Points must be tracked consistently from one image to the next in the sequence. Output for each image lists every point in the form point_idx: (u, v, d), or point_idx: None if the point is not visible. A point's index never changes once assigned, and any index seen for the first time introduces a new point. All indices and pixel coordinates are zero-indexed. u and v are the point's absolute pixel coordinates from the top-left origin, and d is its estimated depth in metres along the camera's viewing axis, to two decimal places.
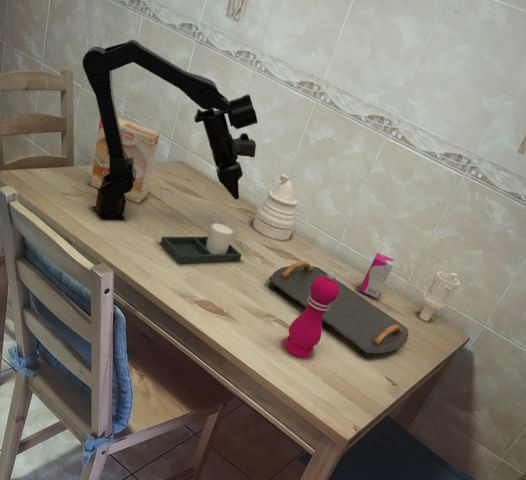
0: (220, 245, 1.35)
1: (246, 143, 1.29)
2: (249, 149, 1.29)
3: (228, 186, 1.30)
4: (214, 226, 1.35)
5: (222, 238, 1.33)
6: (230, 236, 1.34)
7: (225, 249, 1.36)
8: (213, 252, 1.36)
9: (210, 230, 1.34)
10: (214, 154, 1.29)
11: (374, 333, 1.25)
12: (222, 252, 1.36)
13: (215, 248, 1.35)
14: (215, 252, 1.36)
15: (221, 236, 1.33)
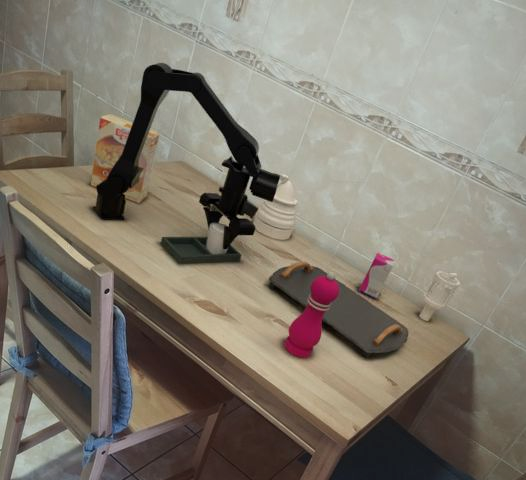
0: (220, 245, 1.35)
1: (252, 204, 1.34)
2: (253, 211, 1.34)
3: (228, 236, 1.31)
4: (214, 226, 1.35)
5: (222, 238, 1.33)
6: None
7: (225, 249, 1.36)
8: (213, 252, 1.36)
9: (210, 230, 1.34)
10: (226, 204, 1.29)
11: (374, 332, 1.25)
12: (222, 252, 1.36)
13: (215, 248, 1.35)
14: (215, 252, 1.36)
15: (221, 236, 1.33)
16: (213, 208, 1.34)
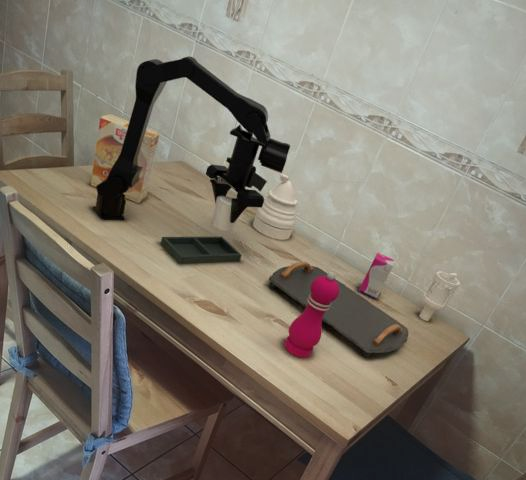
0: (227, 218, 1.31)
1: (260, 176, 1.30)
2: (262, 183, 1.30)
3: (236, 209, 1.28)
4: (221, 199, 1.31)
5: (229, 211, 1.29)
6: None
7: (232, 223, 1.33)
8: (220, 226, 1.32)
9: (217, 203, 1.30)
10: (234, 175, 1.25)
11: (374, 332, 1.25)
12: (229, 226, 1.32)
13: (222, 222, 1.31)
14: (222, 226, 1.32)
15: (229, 208, 1.29)
16: (220, 180, 1.30)
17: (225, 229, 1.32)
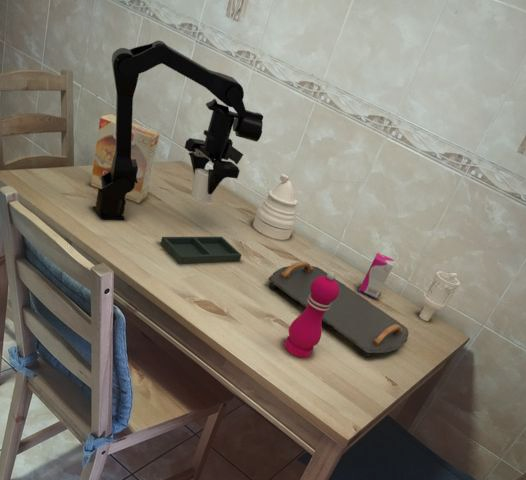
0: (205, 190, 1.36)
1: (237, 150, 1.36)
2: (238, 156, 1.36)
3: (213, 180, 1.33)
4: (199, 171, 1.36)
5: (207, 182, 1.35)
6: None
7: (210, 194, 1.38)
8: (198, 197, 1.37)
9: (195, 174, 1.35)
10: (210, 147, 1.30)
11: (374, 332, 1.25)
12: (207, 197, 1.38)
13: (200, 193, 1.37)
14: (200, 197, 1.37)
15: (206, 180, 1.34)
16: (198, 153, 1.36)
17: (203, 200, 1.38)
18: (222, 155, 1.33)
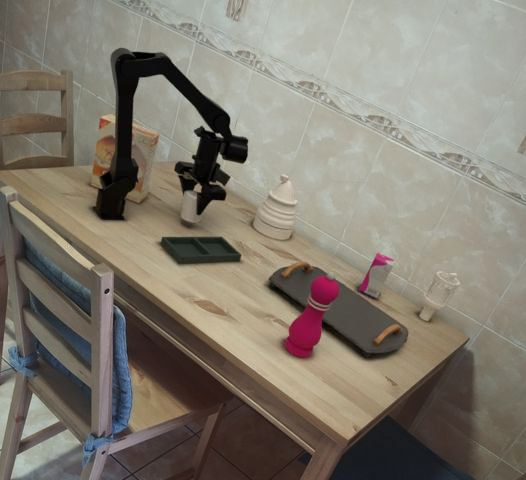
0: (194, 211, 1.41)
1: (224, 172, 1.41)
2: (225, 179, 1.41)
3: (201, 202, 1.38)
4: (188, 193, 1.41)
5: (196, 204, 1.40)
6: None
7: (199, 215, 1.43)
8: (187, 218, 1.43)
9: (184, 196, 1.41)
10: (198, 171, 1.35)
11: (374, 332, 1.25)
12: (196, 218, 1.43)
13: (189, 214, 1.42)
14: (189, 218, 1.43)
15: (195, 202, 1.40)
16: (187, 176, 1.41)
17: (192, 220, 1.43)
18: (210, 178, 1.38)
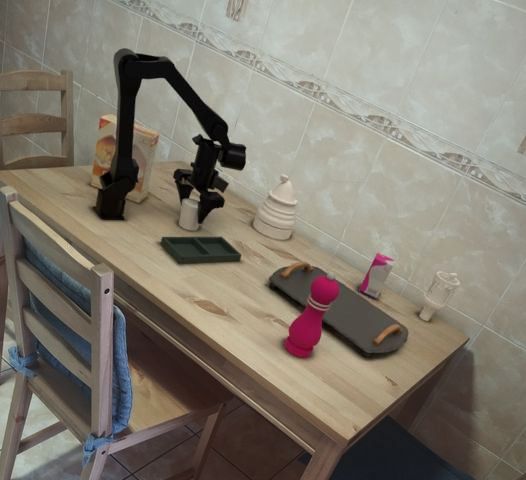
0: (192, 219, 1.43)
1: (222, 179, 1.42)
2: (224, 185, 1.43)
3: (202, 211, 1.39)
4: (186, 201, 1.43)
5: (193, 212, 1.41)
6: None
7: (197, 223, 1.45)
8: (185, 226, 1.44)
9: (182, 205, 1.42)
10: (197, 178, 1.37)
11: (374, 332, 1.25)
12: (194, 226, 1.45)
13: (187, 222, 1.43)
14: (187, 226, 1.44)
15: (193, 210, 1.41)
16: (184, 181, 1.43)
17: (190, 228, 1.45)
18: (208, 185, 1.39)
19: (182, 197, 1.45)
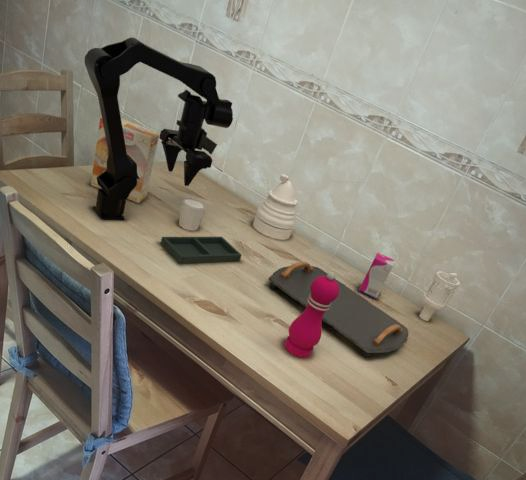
0: (192, 219, 1.43)
1: (210, 140, 1.37)
2: (212, 146, 1.38)
3: (189, 171, 1.34)
4: (186, 201, 1.43)
5: (193, 212, 1.41)
6: (201, 210, 1.42)
7: (197, 223, 1.45)
8: (185, 226, 1.44)
9: (182, 205, 1.42)
10: (183, 137, 1.32)
11: (374, 332, 1.25)
12: (194, 226, 1.45)
13: (187, 222, 1.43)
14: (187, 226, 1.44)
15: (193, 210, 1.41)
16: (170, 142, 1.38)
17: (190, 228, 1.45)
18: (195, 145, 1.34)
19: (169, 159, 1.40)
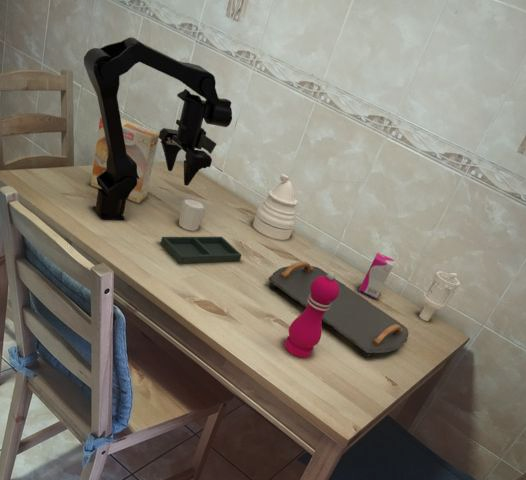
0: (192, 219, 1.43)
1: (210, 139, 1.37)
2: (211, 145, 1.38)
3: (188, 171, 1.34)
4: (186, 201, 1.43)
5: (193, 212, 1.41)
6: (201, 210, 1.42)
7: (197, 223, 1.45)
8: (185, 226, 1.44)
9: (182, 205, 1.42)
10: (182, 136, 1.32)
11: (374, 332, 1.25)
12: (194, 226, 1.45)
13: (187, 222, 1.43)
14: (187, 226, 1.44)
15: (193, 210, 1.41)
16: (170, 141, 1.38)
17: (190, 228, 1.45)
18: (195, 144, 1.34)
19: (168, 158, 1.40)
